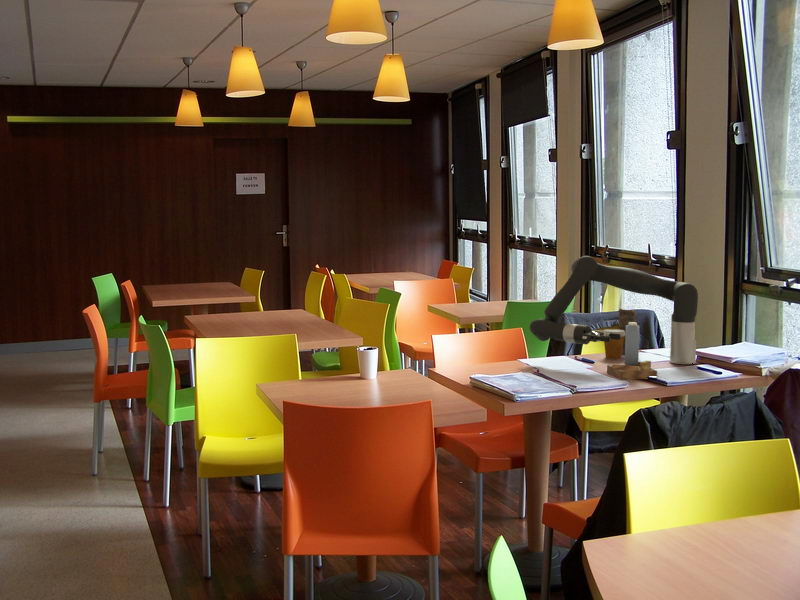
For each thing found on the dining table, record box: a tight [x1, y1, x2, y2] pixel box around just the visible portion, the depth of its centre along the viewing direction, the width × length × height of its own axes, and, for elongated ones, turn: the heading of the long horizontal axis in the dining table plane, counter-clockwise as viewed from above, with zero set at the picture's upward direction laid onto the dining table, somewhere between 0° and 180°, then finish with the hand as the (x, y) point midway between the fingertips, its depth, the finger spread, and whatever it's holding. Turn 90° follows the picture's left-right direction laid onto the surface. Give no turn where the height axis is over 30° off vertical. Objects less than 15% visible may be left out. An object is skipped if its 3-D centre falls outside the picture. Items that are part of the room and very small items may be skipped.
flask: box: [624, 322, 640, 366], centre depth 315 cm, size 5×5×17 cm
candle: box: [618, 308, 637, 355], centre depth 366 cm, size 8×7×20 cm
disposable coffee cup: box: [603, 328, 625, 360], centre depth 355 cm, size 10×10×12 cm
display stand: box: [606, 360, 658, 381], centre depth 316 cm, size 15×15×6 cm
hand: (615, 338), depth 320 cm, fingers open, 8 cm apart
